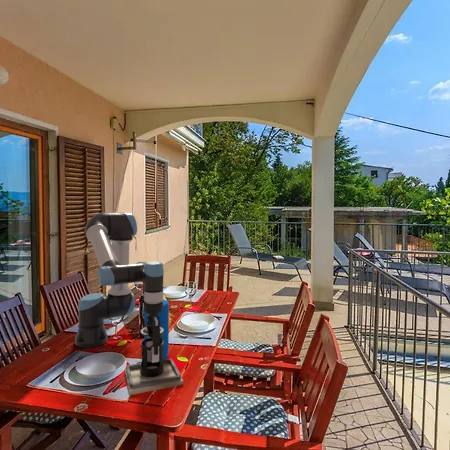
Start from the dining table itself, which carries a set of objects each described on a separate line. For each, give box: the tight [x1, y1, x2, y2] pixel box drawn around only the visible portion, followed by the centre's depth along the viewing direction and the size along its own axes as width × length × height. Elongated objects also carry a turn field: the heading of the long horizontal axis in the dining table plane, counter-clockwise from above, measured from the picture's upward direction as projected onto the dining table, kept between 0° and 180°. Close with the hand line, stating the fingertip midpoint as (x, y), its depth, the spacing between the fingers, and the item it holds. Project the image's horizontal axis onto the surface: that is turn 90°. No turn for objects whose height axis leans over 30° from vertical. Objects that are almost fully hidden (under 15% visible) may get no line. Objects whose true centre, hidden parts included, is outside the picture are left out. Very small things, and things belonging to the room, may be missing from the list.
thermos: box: [143, 299, 170, 359], centre depth 152 cm, size 11×11×25 cm
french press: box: [140, 315, 164, 377], centre depth 133 cm, size 12×9×23 cm
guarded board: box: [124, 357, 184, 396], centre depth 134 cm, size 18×20×3 cm
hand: (152, 356), depth 133 cm, fingers closed on french press, 9 cm apart
